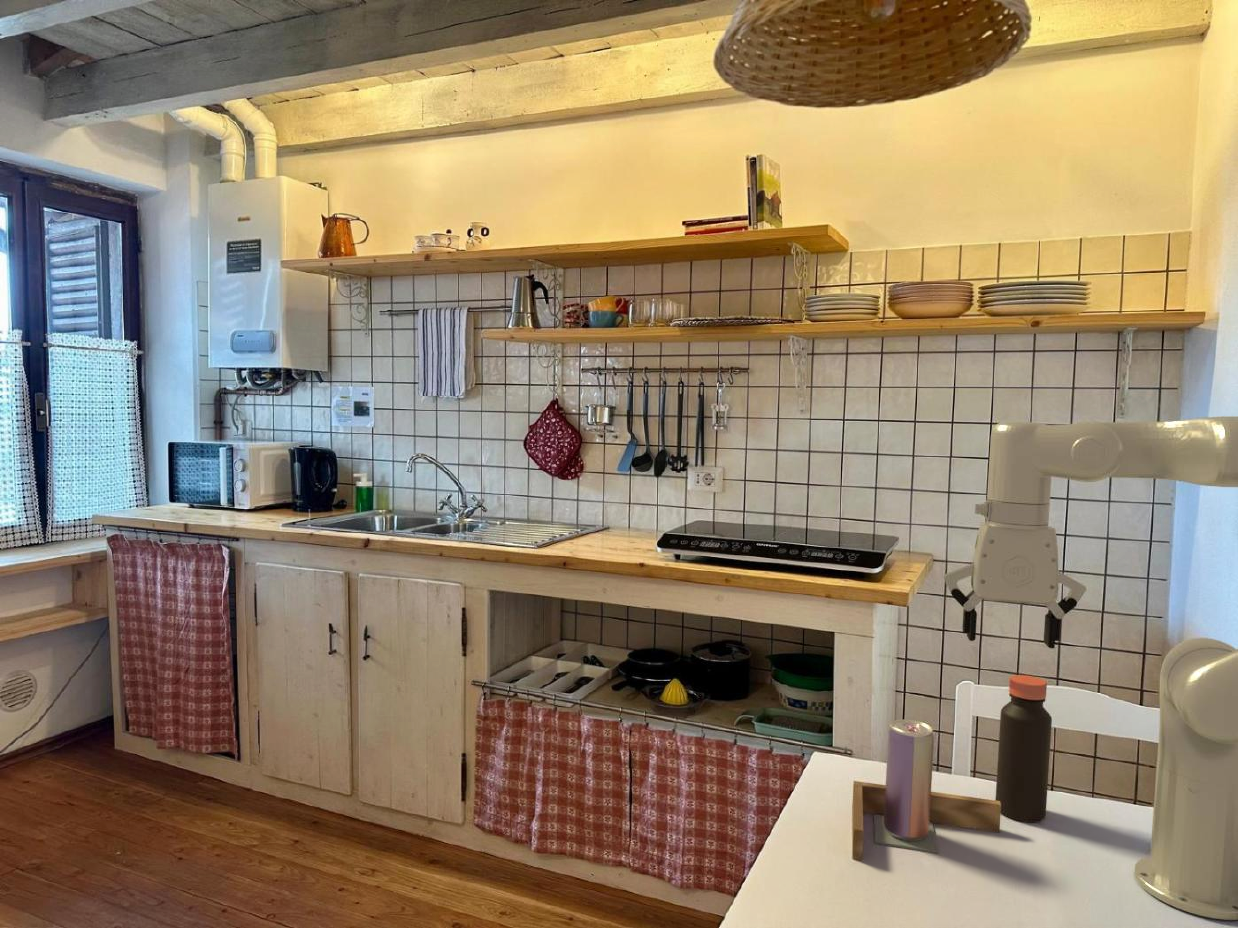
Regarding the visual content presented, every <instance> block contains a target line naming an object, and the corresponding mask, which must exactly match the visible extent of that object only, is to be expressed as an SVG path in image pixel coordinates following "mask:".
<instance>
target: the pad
mask: <svg viewBox="0 0 1238 928" xmlns="http://www.w3.org/2000/svg"><path fill="white" fill-rule="evenodd" d="M933 825H934V823H933V822H929V833H928V835H927V836H926V837H925V838H924V839H923V840H920V841H905V840H901V839H898V838H896V837H894V836H892V835H890V834H889V833H888V832H887V830H886V828H885V826H884V815H879V814H873V829H874V830H873V831H874V844H876V845H882V846H889V847H895V848H902V849H907V850H912V851H913V850H915V851H919V852H921V851H922V852H927V853H934V854H939V850H938V846H937V845H938V844H937V840H936V835H935V830H934V826H933Z"/></svg>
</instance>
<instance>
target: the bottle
mask: <svg viewBox="0 0 1238 928" xmlns="http://www.w3.org/2000/svg"><path fill="white" fill-rule="evenodd" d="M1047 687H1048V684H1047V681H1046V680H1044V679H1042V678H1039V677H1035V676H1031V675H1024V674H1023V675H1022V674H1017V675H1012V676H1009V686H1008V692H1009V693H1008V695H1009V697H1010V701H1009V702H1008V703H1006V704H1004V705H1003V707H1001V710H1000V717H999V718H1000V720H999V734H998V735H999V736H998V738H999V739H998V751H997V752H998V753H997V769H996V784H995V786H996V787H995V799H994V800H996V801H1000V803H1001V815H1003V816H1005V817H1007V818H1009V819H1012V820H1013V821H1014V820H1015V821H1018V822H1022V823H1038V822H1041V821H1043V820H1045V818H1046V814H1047V800H1048V789H1049V788H1048V783H1049V772H1050V771H1049V769H1050V753H1051V752H1050V751H1051V738H1052V737H1051V736H1052V722H1053V719H1052V716H1051V714H1050V713H1049V711H1047V710H1046V708H1045V707H1044V703H1045V702H1046V698H1047Z"/></svg>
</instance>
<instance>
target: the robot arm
mask: <svg viewBox="0 0 1238 928" xmlns="http://www.w3.org/2000/svg"><path fill="white" fill-rule="evenodd" d="M989 443H990V448H989V461H988V464H989V466H988V476H987V477H988V480H987V482H988V483H987V496H986V497H987V498H986V499H985V502H984V503H981V504H979V503H977V504H976V503H975V505H974V515H981V516H983V517H984V519H985V521H982V522H980V525H979V528H978V532H977V536H976V540H975V544H974V552H973V559H972V563H970V564H967V565H964V566H962V567H959V568H958V569H955V570H952V571H950V572H947V573H945V574H944V575H943V581H944V582H945V584H946V587H947V588H948V590H949V593H950V594H951V596H952V597H953V599H955V601H956V602H957V603H958V604H959V605H960V606H961V607H962V608H963V609H962V610H963V612H962V613H963V614H962V633H965V634H966V636H967V637H966V638H967V639H968V641H969V642H974V641H976V637H977V635H976V634H977V622H978V621H977V620H978V613H977V611H976V606H978V605H979V604H980V603H981V602H982V601H983V600H987V601H994V602H1006V603H1016V604H1017V603H1018V604H1029V605H1032V604H1033V605H1045V607H1046V608H1047V609H1048V610H1047V613H1046V614H1045V615H1044V626H1043V627H1044V629H1043V631H1044V632H1043V643H1044V644H1045V645H1046V646H1047V647H1048V648H1049V649H1055V644H1056V642H1059V641H1060V639H1061V637H1060V636H1061V623H1062V622H1061V621H1062V619H1064V617H1065V615H1067V614H1068V613H1069V612H1070V611H1072V610H1073V609H1075V608H1076V606H1077V605H1078V602H1079V601H1081V598H1082V597H1083V596H1084V595H1085V593H1086V591H1087V586H1085V585H1084V584H1082V583H1080V582H1079V581H1077V580H1075V579H1073V578H1072V577H1070V576H1068V575H1066V574H1064V573H1062V572H1061V571H1060V570H1059V550H1058V547H1059V545H1058V539H1057V532H1056V528H1055V527H1053V526H1049V520H1050V506H1051V505H1050V503H1051V490H1052V489H1051V486H1052V477H1053V478H1060V479H1065V480H1070V481H1076V482H1083V483H1094V482H1100V481H1103V480H1105V479H1107V478H1109V479H1110V478H1113V479H1114V478H1118V479H1121V478H1123V479H1124V478H1125V479H1126V478H1127V479H1151V480H1152V479H1154V480H1166V481H1167V480H1170V481H1177V482H1183V483H1188V484H1192V485H1197V486H1204V487H1220V488H1238V416H1211V417H1209V416H1208V417H1207V416H1206V417H1196V418H1190V419H1182V420H1180V419H1179V420H1166V421H1124V422H1123V421H1118V422H1117V421H1116V422H1115V421H1113V422H1112V421H1111V422H1107V421H1106V422H1105V421H1102V422H1099V421H1098V422H1094V421H1093V422H1091V421H1082V422H1076V423H1069V424H1050V425H1049V424H1047V423H1043V422H1032V421H1002V422H998V423H997V424H995V425H994V426H993V427H992V430H991V434H990V442H989ZM968 577H971V579H970V583H971V591H969V592H968V594H966V595H965V594H964V593H963V592H962V590H960V587H959V585H958V582H959V581H961V580H964V579H966V578H968ZM1059 584H1061V585H1063V586H1065V587H1066V588H1068V589H1069V592H1068V594H1067V596H1065V597H1064V598H1062V599H1061V600H1060V601H1058V602H1056V601H1057V599H1058V596H1059ZM1161 664H1162V665H1161V666H1160V667H1161V668H1160V672H1159V730H1158V744H1157V745H1158V748H1157V749H1158V750H1157V757H1156V758H1157V760H1156V772H1155V785H1154V786H1155V787H1154V799H1153V800H1154V801H1153V812H1152V813H1153V814H1152V825H1151V826H1152V827H1151V840H1150V841H1151V842H1150V855H1149V856H1147V857H1146V856H1145V857H1144V858H1141V859H1139V860H1138V861H1136V863H1135V865H1134V871H1133V872H1134V873H1133V874H1134V878H1135V880H1136V881H1137V883H1138V884H1139V886H1141V888H1143V890H1144V891H1146V892H1147V893H1149V894H1150V895H1152V896H1153V897H1154V898H1156V899H1157V900H1159V901H1161V902H1163V903H1165V904H1167V905H1169V906H1172V907H1174V908H1176V909H1179V910H1181V911H1184V912H1187V913H1190V914H1194V915H1197V916H1200V917H1203V918H1210V919H1215V920H1216V919H1217V920H1224V921H1237V920H1238V648H1235V647H1233V645H1230V644H1228V643H1226V642H1224V641H1221V640H1218V639H1215V638H1210V637H1195V638H1190V639H1186V640H1184V641H1182V642H1179V643H1178V644H1176V645H1175V646H1174V647H1172V648H1171V649H1170V650H1169V652H1168V653H1166V655H1165V657H1164V660H1163V662H1162V663H1161Z"/></svg>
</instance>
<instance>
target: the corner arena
mask: <svg viewBox="0 0 1238 928" xmlns="http://www.w3.org/2000/svg"><path fill="white" fill-rule="evenodd" d="M885 788H886V784H879V783H872V782H865V781H858V780H853V784H852V803H851V804H852V806H851V807H852V808H851V810H852V811H851V816H852V817H851V822H852V823H851V825H852V827H851V830H852V832H851V835H852V836H851V837H852V839H851V843H852V844H851V845H852V846H851V847H852V856H851V857H852V858H851V859H852V860H856V861H857V860H858V861H862V860H863V847H864V846H863V845H864V844H863V843H864V813H866V814H873V815H880V816H884V807H885ZM1001 815H1002V814H1001V803H1000V801H996V800H995V799H988V798H980V797H975V796H974V797H973V796H965V795H958V794H952V793H944V792H937V791H931V803H930V821H929V823H932V824H934V823H935V824H939V825H940V824H941V825H946V826H947V825H948V826H954V827H962V828H967V829H975V830H979V831H980V830H982V831H986V832H987V831H988V832H994V833H1000V829H1001V817H1002V816H1001Z"/></svg>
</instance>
